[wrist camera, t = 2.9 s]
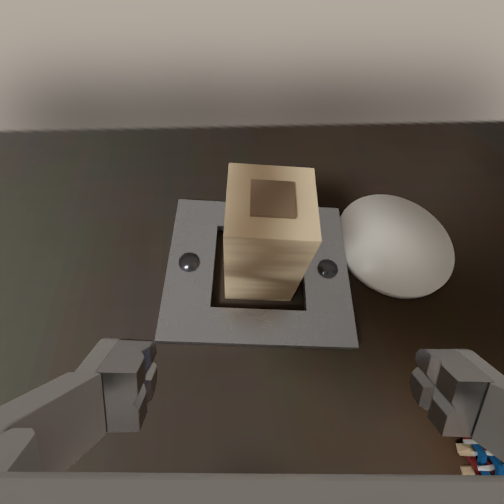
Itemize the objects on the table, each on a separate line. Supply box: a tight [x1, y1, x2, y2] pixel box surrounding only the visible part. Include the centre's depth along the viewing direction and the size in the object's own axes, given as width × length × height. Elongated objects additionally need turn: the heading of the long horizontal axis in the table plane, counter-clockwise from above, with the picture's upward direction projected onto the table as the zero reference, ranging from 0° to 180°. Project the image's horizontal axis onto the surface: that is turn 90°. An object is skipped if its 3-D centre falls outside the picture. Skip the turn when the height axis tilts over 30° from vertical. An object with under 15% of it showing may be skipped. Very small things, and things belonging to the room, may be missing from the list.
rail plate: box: [155, 199, 359, 350], centre depth 24 cm, size 14×12×1 cm
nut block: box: [223, 163, 322, 301], centre depth 20 cm, size 5×5×9 cm
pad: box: [340, 194, 455, 299], centre depth 26 cm, size 10×10×1 cm
